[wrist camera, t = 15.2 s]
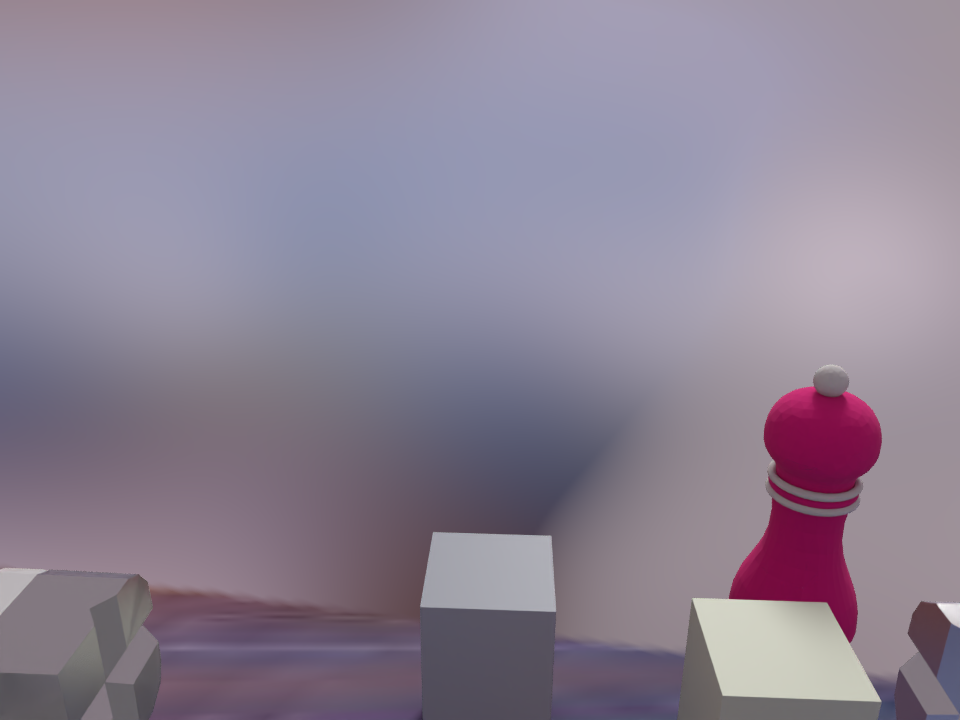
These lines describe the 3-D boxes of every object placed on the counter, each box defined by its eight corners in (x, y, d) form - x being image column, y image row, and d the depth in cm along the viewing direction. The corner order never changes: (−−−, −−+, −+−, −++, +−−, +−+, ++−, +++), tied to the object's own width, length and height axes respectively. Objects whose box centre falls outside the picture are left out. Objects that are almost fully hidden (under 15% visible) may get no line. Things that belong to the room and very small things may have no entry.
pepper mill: (710, 685, 50) (752, 376, 43) (732, 615, 56) (772, 335, 49) (839, 726, 47) (908, 402, 40) (848, 648, 53) (908, 355, 46)
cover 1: (423, 782, 43) (420, 607, 39) (435, 691, 49) (433, 532, 45) (547, 787, 43) (556, 611, 39) (543, 696, 49) (551, 536, 45)
